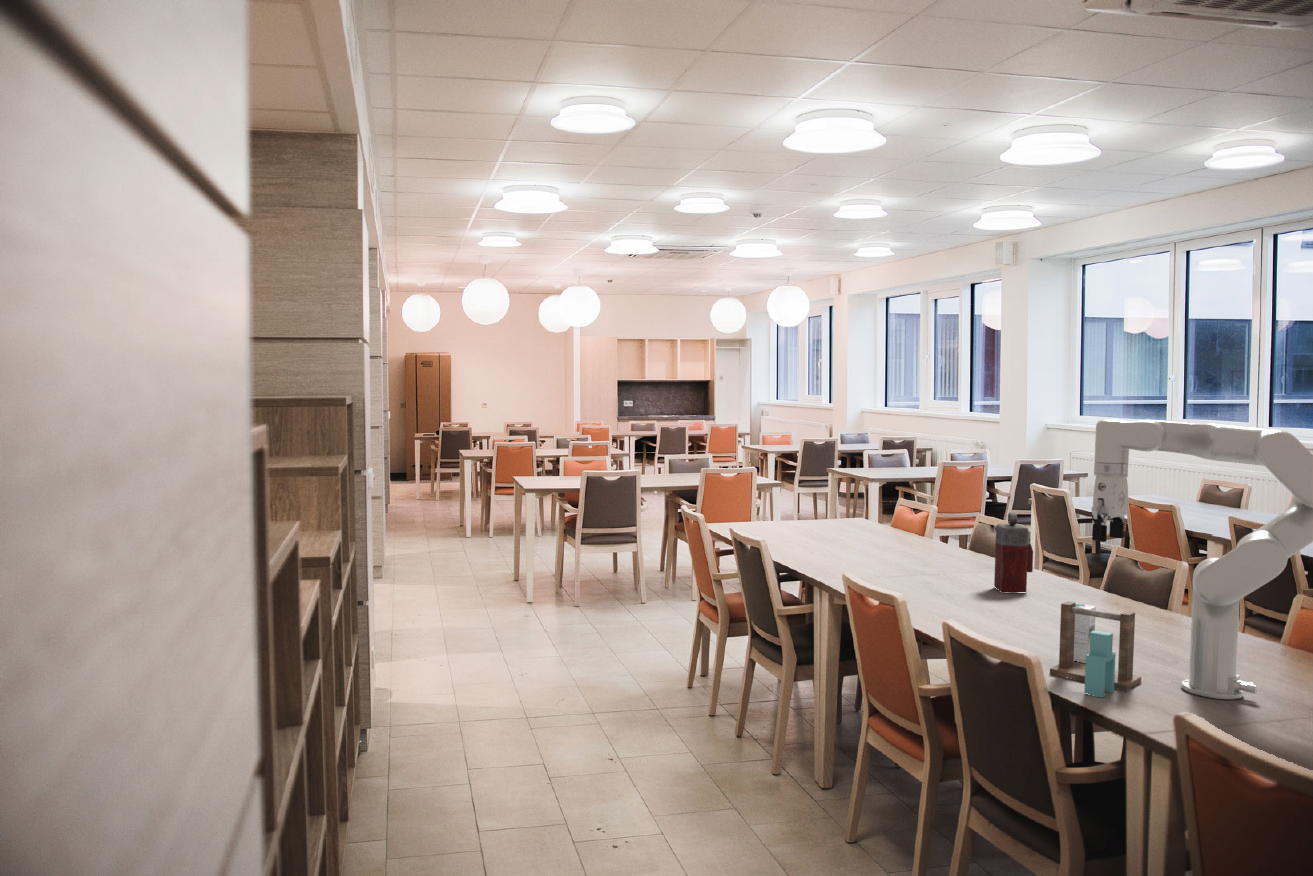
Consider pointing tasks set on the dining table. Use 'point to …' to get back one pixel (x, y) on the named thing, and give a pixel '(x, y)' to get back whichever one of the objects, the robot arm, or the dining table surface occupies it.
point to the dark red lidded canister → (1012, 556)
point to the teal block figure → (1100, 664)
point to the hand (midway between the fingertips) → (1107, 539)
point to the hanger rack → (1077, 671)
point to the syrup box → (1083, 633)
